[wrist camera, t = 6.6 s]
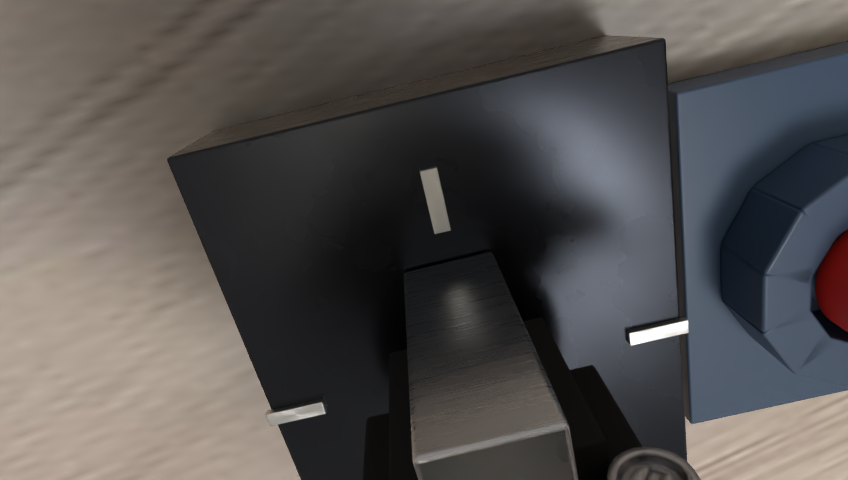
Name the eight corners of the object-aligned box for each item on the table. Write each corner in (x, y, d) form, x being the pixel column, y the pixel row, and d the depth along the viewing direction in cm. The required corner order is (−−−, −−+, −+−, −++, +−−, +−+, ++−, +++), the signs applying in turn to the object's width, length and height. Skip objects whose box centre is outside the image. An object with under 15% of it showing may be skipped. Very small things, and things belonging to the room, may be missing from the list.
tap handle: (402, 271, 12) (412, 476, 6) (492, 249, 12) (576, 438, 6) (460, 473, 14) (503, 749, 9) (535, 456, 14) (625, 724, 9)
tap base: (208, 131, 13) (156, 162, 10) (612, 33, 13) (675, 35, 10) (350, 505, 18) (343, 597, 15) (647, 440, 18) (697, 522, 15)
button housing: (652, 87, 14) (719, 103, 11) (970, 11, 13) (1124, 7, 11) (671, 399, 17) (725, 471, 15) (920, 344, 17) (1023, 407, 14)
